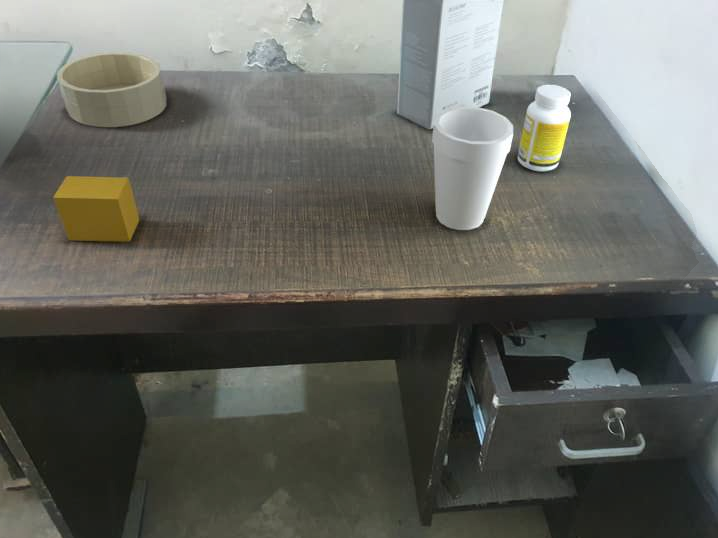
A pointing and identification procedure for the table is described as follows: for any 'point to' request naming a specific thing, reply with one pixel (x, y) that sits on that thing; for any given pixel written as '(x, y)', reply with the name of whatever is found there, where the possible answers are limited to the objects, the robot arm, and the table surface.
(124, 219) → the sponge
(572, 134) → the table surface
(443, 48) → the hard drive box
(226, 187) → the table surface
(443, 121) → the foam cup
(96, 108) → the bowl
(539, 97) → the pill bottle
